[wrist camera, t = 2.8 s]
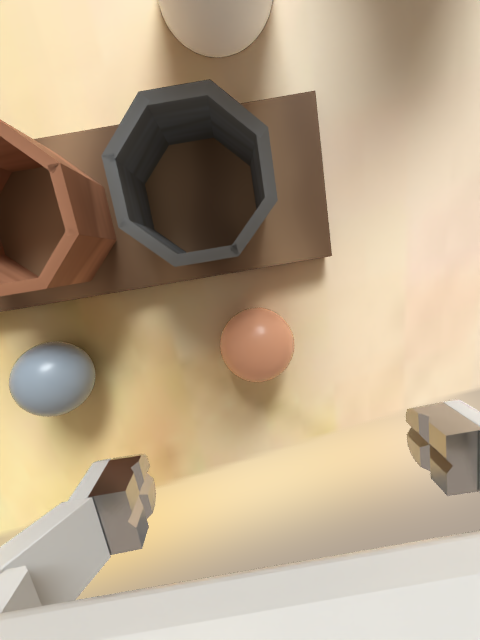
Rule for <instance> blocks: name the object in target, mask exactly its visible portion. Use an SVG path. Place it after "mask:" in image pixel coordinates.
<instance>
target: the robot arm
mask: <svg viewBox="0 0 480 640" xmlns="http://www.w3.org/2000/svg"><path fill="white" fill-rule="evenodd" d="M406 422H407V423H408V424H409V425H410V426H411V429H410V430H409V432H408V434H407V442H408V447H409V450H410V452H411V455H412V456H413V458H414V459H415V461H416V462H417V463H418V464H419V466H420V467H422V468H424V469H427V470H429V471H430V472H431V479H432V480H433V481H434V482H435V483H436V484H437V485H438V486H439V487H440V488H441V489H442V490H443V492H444V493H445V494H446V495H447V496H450V495H457V494H463V493H471V492H478V491H480V411H478V410H476V409H475V408H473V407H471V406H470V405H468V404H466V403H465V402H463V401H461V400H457V399H454V400H449V401H444V402H440V403H435V404H430V405H425V406H420V407H415V408H410V409H407V412H406ZM149 466H150V465H149V461H148V458H147V456H146V455H145V454H138V455H132V456H125V457H118V458H113V459H105V460H100V461H96V462H94V463H93V464H92V465H91V467H90V468H89V470H88V471H87V473H86V474H85V476H84V477H83V479H82V480H81V482H80V483H79V485H78V486H77V488H76V489H75V491H74V492H73V494H72V495H71V497H70V498H69V500H68V501H67V502H62V503H60V504H59V505H58V506H56V507H55V508H53V509H52V510H51V511H49V512H48V513H47V514H45V515H44V516H42V517H41V518H40V519H38V520H37V521H35V522H34V523H33V524H31V525H30V526H29V527H27V528H26V529H24V530H23V531H22V532H20V533H19V534H18V535H16V536H15V537H13V538H12V539H11V540H9V541H8V542H6V543H5V544H4V545H2V546H1V547H0V640H480V530H479V531H474V532H467V533H462V534H456V535H451V536H445V537H439V538H433V539H427V540H422V541H416V542H410V543H404V544H399V545H393V546H387V547H381V548H376V549H370V550H364V551H358V552H352V553H347V554H341V555H334V556H329V557H323V558H317V559H312V560H305V561H299V562H293V563H288V564H282V565H276V566H270V567H264V568H259V569H253V570H247V571H241V572H236V573H230V574H225V575H218V576H213V577H207V578H201V579H195V580H190V581H184V582H179V583H172V584H167V585H161V586H155V587H150V588H144V589H138V590H132V591H126V592H121V593H115V594H109V595H103V596H97V597H91V598H86V599H79V600H76V598H77V597H78V596H79V595H80V594H81V592H82V591H83V590H84V589H85V587H86V586H87V585H88V584H89V583H90V581H91V580H92V579H93V578H94V577H95V575H96V574H97V573H98V572H99V570H100V569H101V568H102V567H103V566H104V564H105V563H106V562H107V561H108V559H109V558H110V555H112V554H118V553H123V552H127V551H133V550H137V549H142V546H143V543H144V540H145V537H146V533H147V530H148V522H147V518H148V517H149V516H150V515H151V514H152V513H153V510H154V506H155V497H156V491H155V484H154V480H153V478H152V477H151V476H150V475H149V474H147V472H148V469H149Z"/></svg>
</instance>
